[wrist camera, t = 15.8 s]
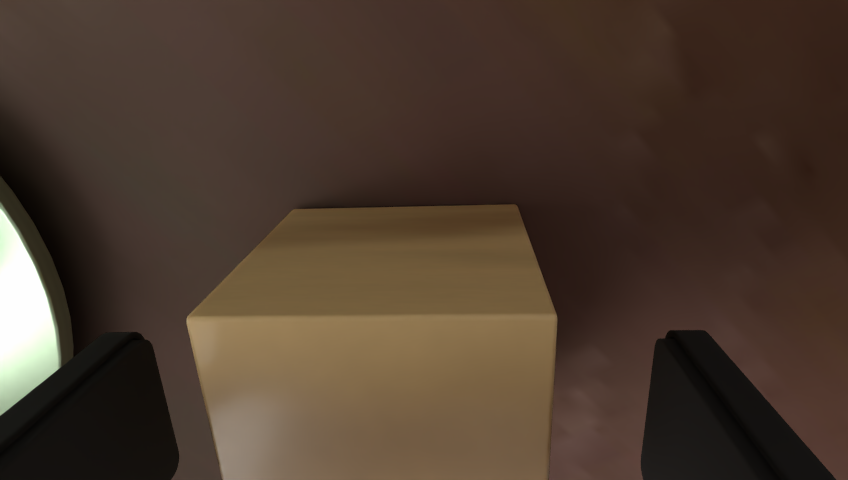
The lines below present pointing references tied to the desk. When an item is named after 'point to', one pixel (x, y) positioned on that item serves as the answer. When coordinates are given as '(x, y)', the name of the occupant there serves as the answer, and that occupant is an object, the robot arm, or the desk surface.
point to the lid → (28, 306)
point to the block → (382, 349)
